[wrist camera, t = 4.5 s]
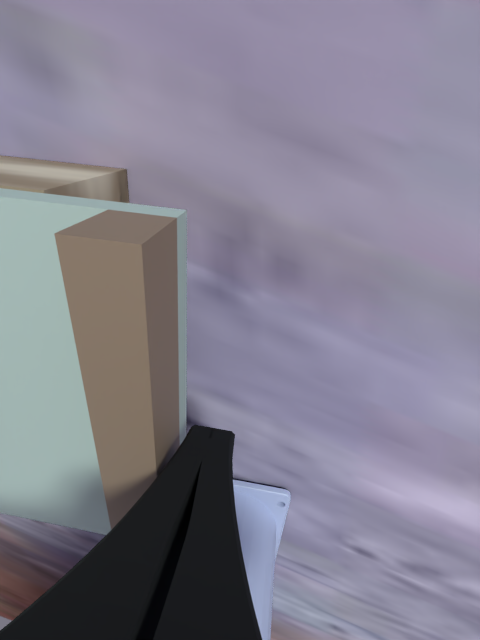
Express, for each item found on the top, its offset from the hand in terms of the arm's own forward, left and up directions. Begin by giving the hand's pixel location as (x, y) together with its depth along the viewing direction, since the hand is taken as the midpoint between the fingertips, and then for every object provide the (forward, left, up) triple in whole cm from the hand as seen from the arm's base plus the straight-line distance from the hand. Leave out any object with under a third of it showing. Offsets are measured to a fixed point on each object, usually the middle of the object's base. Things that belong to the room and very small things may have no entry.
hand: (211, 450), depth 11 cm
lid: (0, +9, -1) cm, 9 cm away
